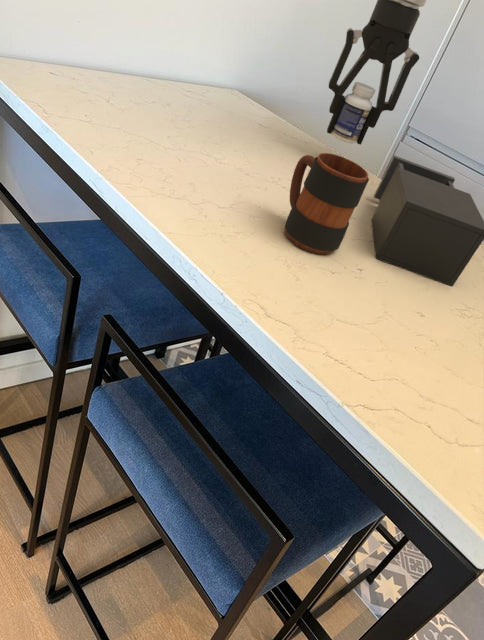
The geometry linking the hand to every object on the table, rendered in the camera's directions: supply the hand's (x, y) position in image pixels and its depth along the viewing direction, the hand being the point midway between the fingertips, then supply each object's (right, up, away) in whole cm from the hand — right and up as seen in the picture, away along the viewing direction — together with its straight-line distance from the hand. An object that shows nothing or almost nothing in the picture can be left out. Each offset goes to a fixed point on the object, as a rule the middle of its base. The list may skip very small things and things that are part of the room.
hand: (343, 136), depth 110 cm
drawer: (+9, -17, -8) cm, 21 cm away
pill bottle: (0, 0, 0) cm, 1 cm away
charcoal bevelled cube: (+7, -25, -18) cm, 32 cm away
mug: (-12, -24, -25) cm, 37 cm away
